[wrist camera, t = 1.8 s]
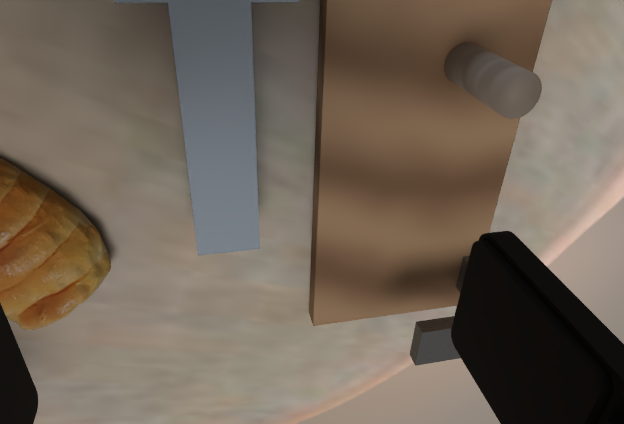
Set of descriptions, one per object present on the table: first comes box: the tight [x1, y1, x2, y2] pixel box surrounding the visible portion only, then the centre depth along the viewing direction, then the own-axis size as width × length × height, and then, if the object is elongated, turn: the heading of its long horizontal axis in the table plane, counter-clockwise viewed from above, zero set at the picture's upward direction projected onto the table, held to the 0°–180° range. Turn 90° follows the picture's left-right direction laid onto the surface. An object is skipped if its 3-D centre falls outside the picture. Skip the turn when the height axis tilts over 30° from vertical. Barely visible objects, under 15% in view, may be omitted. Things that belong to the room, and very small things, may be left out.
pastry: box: [0, 158, 111, 330], centre depth 23 cm, size 9×7×4 cm
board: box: [309, 0, 552, 326], centre depth 25 cm, size 21×11×6 cm, turn 178°
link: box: [115, 0, 299, 255], centre depth 21 cm, size 18×7×4 cm, turn 178°
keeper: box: [410, 256, 469, 365], centre depth 29 cm, size 2×7×7 cm, turn 88°
